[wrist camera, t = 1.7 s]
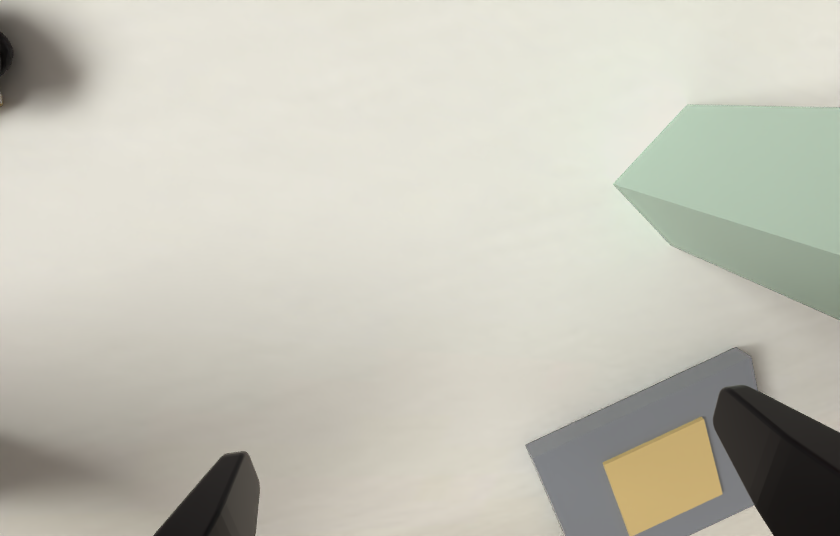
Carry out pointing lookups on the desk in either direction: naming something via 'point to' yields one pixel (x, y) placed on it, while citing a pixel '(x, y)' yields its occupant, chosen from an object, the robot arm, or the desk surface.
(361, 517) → the desk surface
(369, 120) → the desk surface
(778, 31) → the desk surface
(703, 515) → the pad
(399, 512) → the desk surface
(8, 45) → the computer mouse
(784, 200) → the sage block
